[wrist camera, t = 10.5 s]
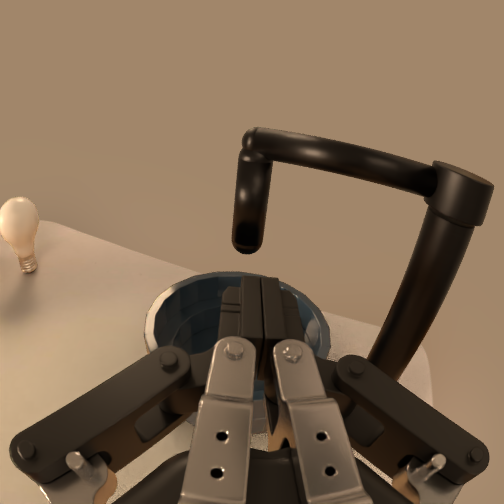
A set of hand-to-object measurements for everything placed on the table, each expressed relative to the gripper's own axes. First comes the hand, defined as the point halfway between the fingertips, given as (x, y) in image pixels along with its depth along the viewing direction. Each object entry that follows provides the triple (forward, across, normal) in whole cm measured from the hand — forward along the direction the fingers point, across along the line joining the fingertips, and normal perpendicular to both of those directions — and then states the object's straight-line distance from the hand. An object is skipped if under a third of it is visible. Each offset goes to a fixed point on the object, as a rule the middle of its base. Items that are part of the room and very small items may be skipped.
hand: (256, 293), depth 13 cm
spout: (+5, -6, +2) cm, 8 cm away
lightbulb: (+19, +30, +15) cm, 38 cm away
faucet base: (+3, -11, +15) cm, 19 cm away
